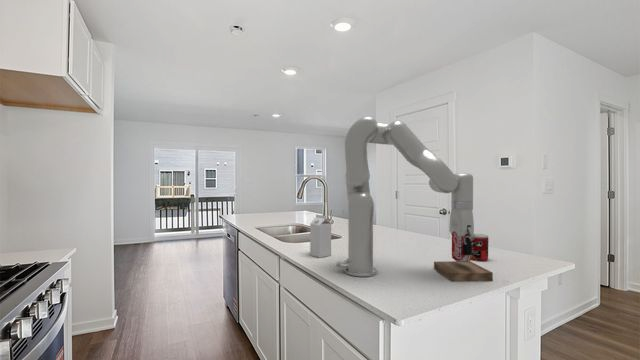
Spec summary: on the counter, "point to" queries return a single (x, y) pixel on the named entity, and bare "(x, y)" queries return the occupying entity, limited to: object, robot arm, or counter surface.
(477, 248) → the canned food
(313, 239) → the milk carton
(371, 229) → the robot arm
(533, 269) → the counter surface
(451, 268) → the walnut base
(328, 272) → the counter surface
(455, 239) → the soda can
